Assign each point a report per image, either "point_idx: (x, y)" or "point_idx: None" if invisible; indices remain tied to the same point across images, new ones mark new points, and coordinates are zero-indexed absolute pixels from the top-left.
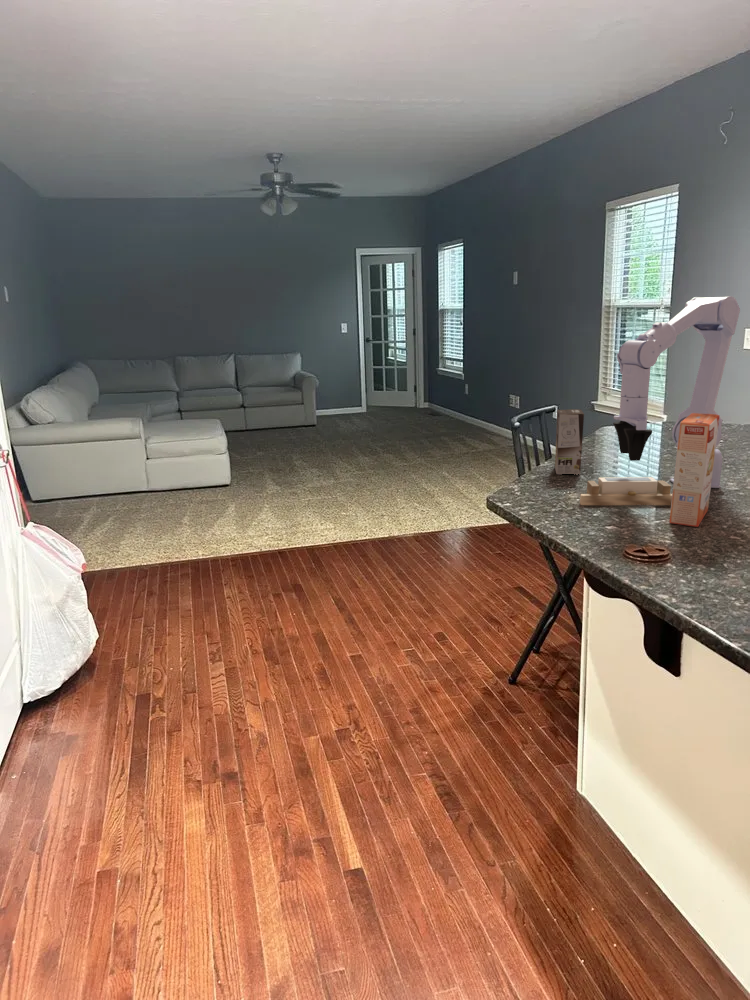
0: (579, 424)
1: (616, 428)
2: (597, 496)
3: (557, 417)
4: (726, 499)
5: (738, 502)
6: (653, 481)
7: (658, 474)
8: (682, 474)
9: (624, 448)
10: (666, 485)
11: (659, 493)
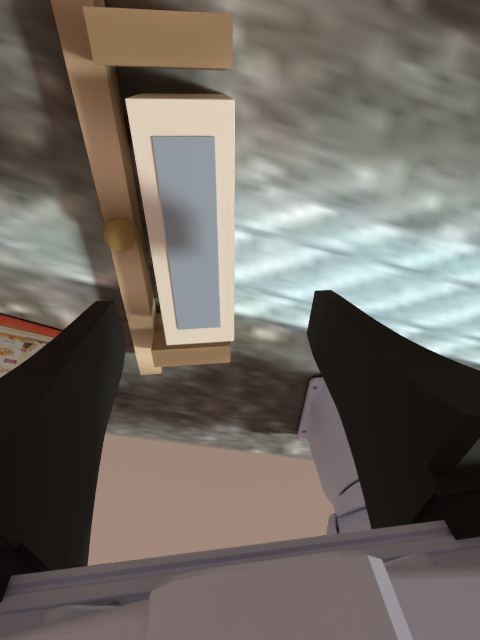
0: None
1: (442, 387)
2: (62, 45)
3: None
4: (210, 429)
5: (186, 440)
6: (165, 333)
7: (460, 361)
8: None
9: (321, 324)
10: (159, 358)
11: None
